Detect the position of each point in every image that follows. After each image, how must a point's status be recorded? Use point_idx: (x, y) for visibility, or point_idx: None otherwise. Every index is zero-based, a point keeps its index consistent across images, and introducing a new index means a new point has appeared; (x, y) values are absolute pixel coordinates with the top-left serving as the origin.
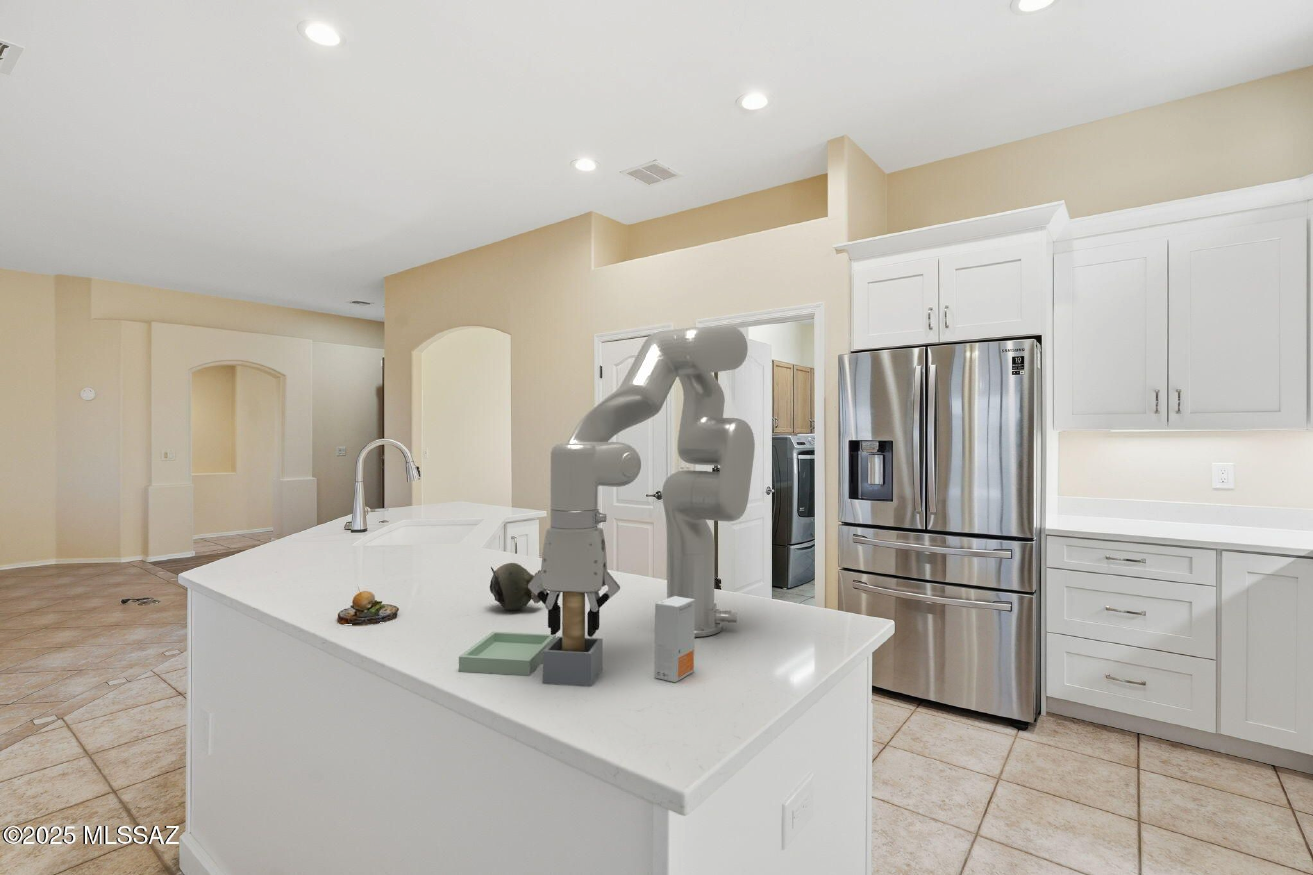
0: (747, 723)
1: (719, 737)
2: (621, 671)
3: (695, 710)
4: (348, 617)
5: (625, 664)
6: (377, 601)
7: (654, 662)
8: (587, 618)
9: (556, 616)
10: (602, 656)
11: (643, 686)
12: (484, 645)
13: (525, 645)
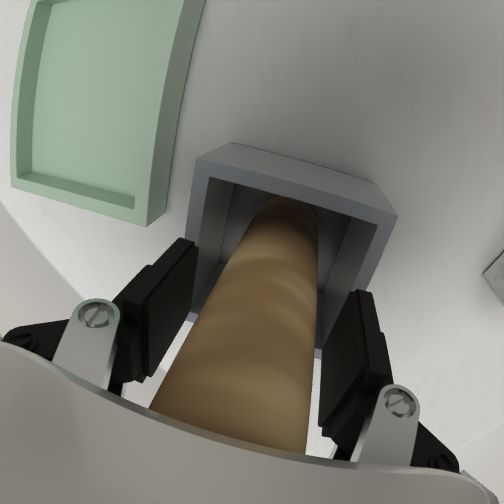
0: (493, 419)
1: (447, 443)
2: (424, 213)
3: (467, 398)
4: None
5: (444, 156)
6: None
7: (497, 294)
8: (319, 407)
9: (163, 343)
10: (382, 194)
11: (443, 315)
12: (30, 67)
13: (118, 7)
